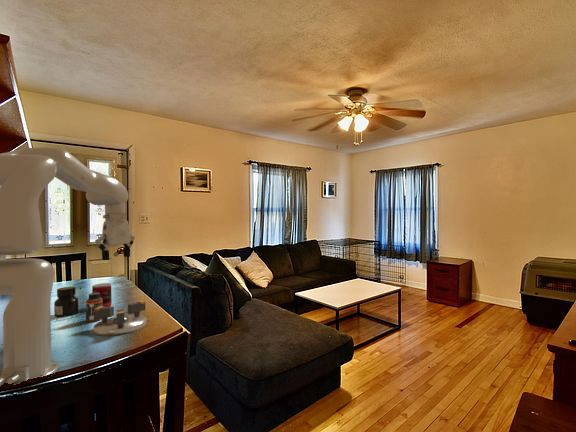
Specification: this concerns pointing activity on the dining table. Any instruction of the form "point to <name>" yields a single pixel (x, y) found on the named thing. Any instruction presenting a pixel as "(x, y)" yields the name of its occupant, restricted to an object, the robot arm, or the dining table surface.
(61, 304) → the ink bottle
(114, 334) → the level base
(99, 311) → the orange-tipped grey bar
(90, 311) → the supplement bottle
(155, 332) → the dining table surface
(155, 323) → the dining table surface
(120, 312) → the grey chuck jaw
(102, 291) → the canned food
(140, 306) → the grey and orange block
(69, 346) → the dining table surface
